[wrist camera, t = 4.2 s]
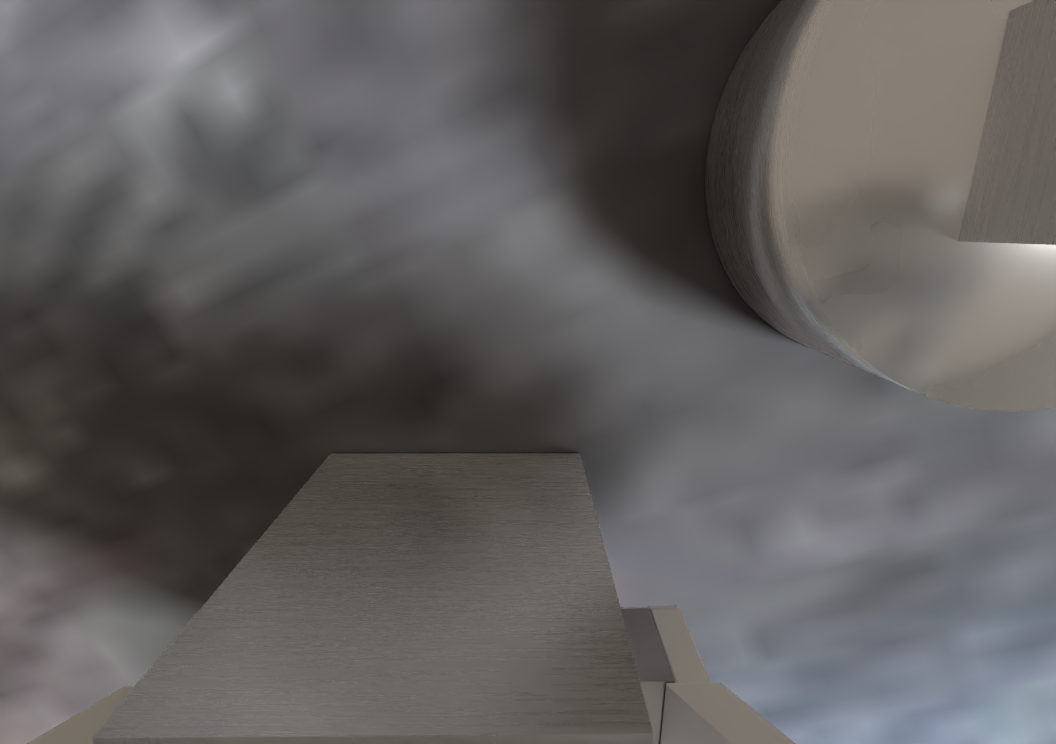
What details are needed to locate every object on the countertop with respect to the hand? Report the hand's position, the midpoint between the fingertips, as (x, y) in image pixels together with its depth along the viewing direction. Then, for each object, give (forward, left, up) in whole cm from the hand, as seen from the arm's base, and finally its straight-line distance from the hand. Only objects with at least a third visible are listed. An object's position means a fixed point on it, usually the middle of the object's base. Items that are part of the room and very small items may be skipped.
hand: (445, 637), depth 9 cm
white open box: (0, 0, -2) cm, 2 cm away
